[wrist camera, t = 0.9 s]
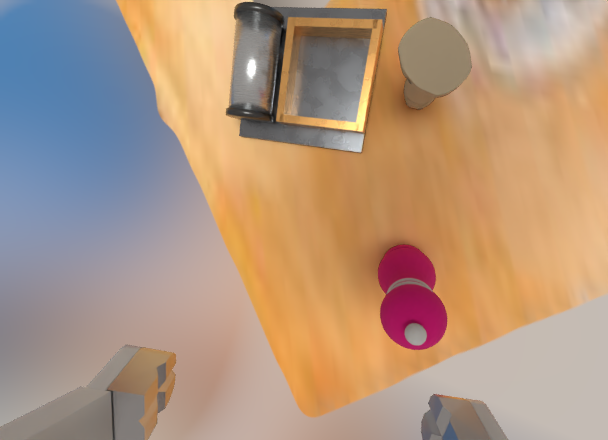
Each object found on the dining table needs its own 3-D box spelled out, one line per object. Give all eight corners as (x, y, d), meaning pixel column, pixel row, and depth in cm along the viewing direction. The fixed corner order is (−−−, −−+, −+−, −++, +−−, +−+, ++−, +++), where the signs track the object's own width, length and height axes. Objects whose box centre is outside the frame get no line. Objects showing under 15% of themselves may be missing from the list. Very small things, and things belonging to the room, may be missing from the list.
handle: (418, 65, 38) (435, 4, 24) (449, 103, 38) (485, 64, 24) (387, 92, 40) (386, 49, 26) (416, 129, 40) (432, 106, 25)
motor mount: (252, 10, 43) (226, -21, 36) (386, 13, 38) (386, -22, 32) (240, 136, 47) (214, 130, 40) (361, 152, 42) (356, 149, 35)
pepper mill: (389, 233, 43) (390, 284, 24) (439, 252, 42) (481, 322, 23) (371, 276, 45) (359, 355, 26) (418, 296, 43) (442, 394, 24)
